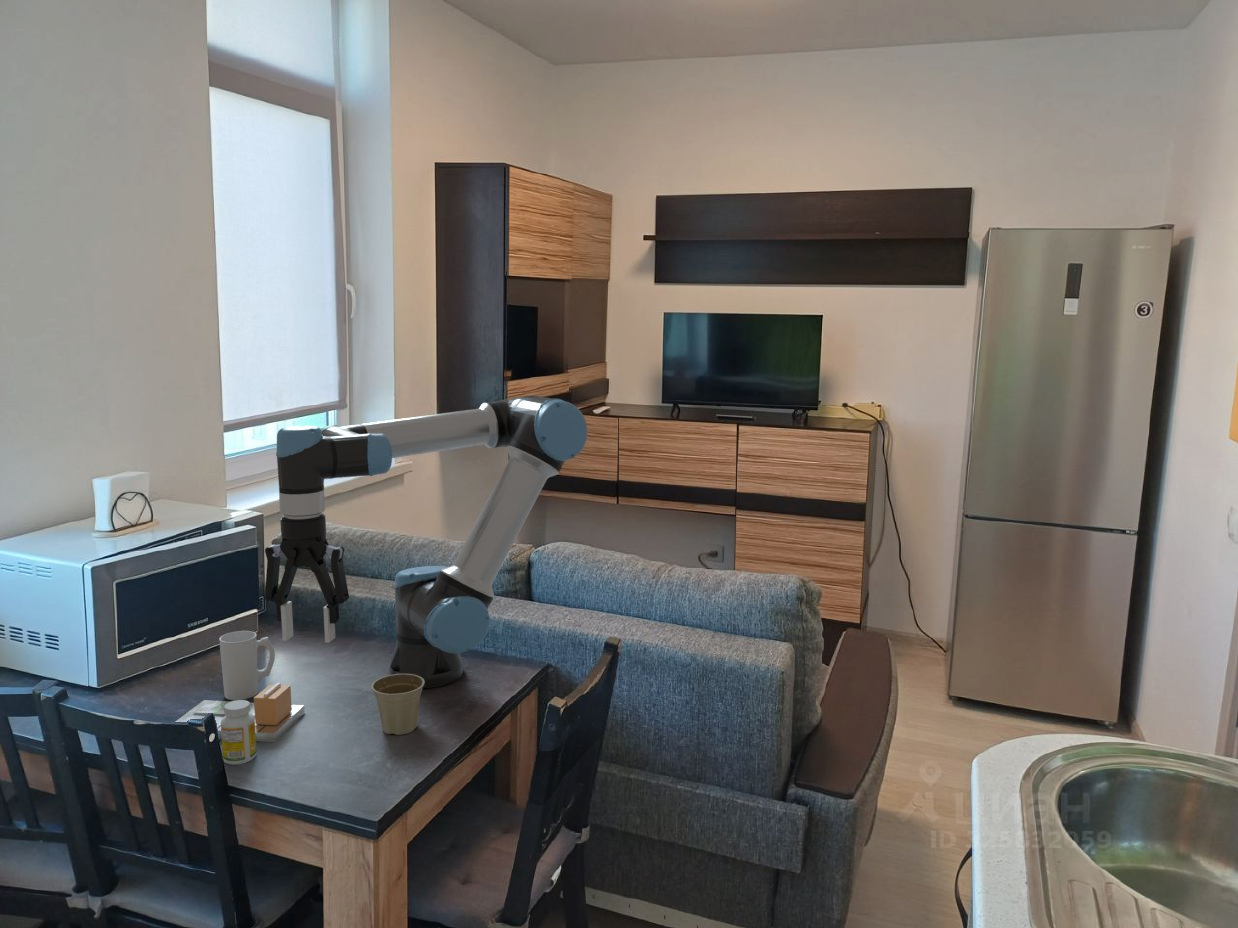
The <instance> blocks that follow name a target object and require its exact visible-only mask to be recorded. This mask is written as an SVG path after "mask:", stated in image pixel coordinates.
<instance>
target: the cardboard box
mask: <svg viewBox="0 0 1238 928" xmlns="http://www.w3.org/2000/svg"><path fill="white" fill-rule="evenodd" d="M291 690H292V689H291V685H288V684H287V685H284V684H281V682H276V683H275V684H269V685H268V686H266V687H265V688H264V689H263V690H261V691H260V692H258V693H257V694H256V695H255V696H253V703H254V710H255V724H265V725H277V724H278V723H279V722H280V721H282V720H283V719H284V718H285V717H286V716H287V715H288V714H289V713H290V712H291V711H292V705H293V704H292V691H291Z"/></svg>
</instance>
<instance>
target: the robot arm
mask: <svg viewBox="0 0 1238 928" xmlns="http://www.w3.org/2000/svg"><path fill="white" fill-rule="evenodd" d="M587 439H588V425H587V423H586V418H585V416H584V414H583V413H582V411H581V410H580V409H579V408H578V407H577V406H576V405H575V404H573V403H571V402H569V401H565V400H563V399H561V398H556V397H555V398H551V397H546V396H545V397H544V396H539V395H531V394H530V395H523V396H522V395H521V396H516V397H512V398H506V399H501V400H497V401H496V400H495V401H491V402H483V403H482V404H480V406H479V407H478V408H474V409H465V410H458V411H451V412H443V413H442V412H441V413H437V414H429V415H420V416H415V417H405V418H398V419H391V420H384V421H383V420H382V421H376V422H368V423H361V424H351V425H345V426H340V425H337V424H334V425H327V426H324V427H322V428H320V427H319V426H316V425H291V426H286V427H282V428H280V429H279V430H278V431H277V433H276V453H275V456H276V463H277V464H276V465H277V477H278V478H277V479H278V496H279V498H278V499H279V501H278V502H279V503H278V504H279V514H281V515H282V516H281V517H280V519H279V520H280V534H281V541H280V544H279V543H278V544H276V543H273V544H271V545H269V546H267V547H265V549H264V553H265V557H266V560H267V561H266V572H265V573H266V574H265V576H266V577H265V589H264V600H265V601H267V602H272V603H274V604H275V607H276V608H275V609H276V610H275V611H276V619H277V622H281V633H282V634H281V636H282V637H281V638H282V641H284V642H287V641H288V640H290V639H291V638H293V637H294V622H293V620H294V619H293V604H292V603H293V602H292V601H290V600H289V598H290V597H289V596H290V595H289V594H290V592H291V589H292V586H293V584H294V580H295V577H296V573H297V571H298V569H299V567H306V568H310V570H311V572H312V573H313V574H314V576H315V579H316V580H317V581H316V582H317V583H318V586H319V588H320V590H321V593H322V595H323V597H324V600H325V602H326V605H325V606H323V626H324V643H327V644H328V643H331V642H332V641H333V640H335V638H336V623H338V622H339V620H340V606H339V605H342V604H344V603H345V602H346V601H348V600H349V599H350V593H349V589H348V582H347V577H346V570H345V567H344V566H345V565H344V553H345V548H344V547H343V546H337V547H336V546H333V545H329V542H328V541H327V523H326V521H327V520H326V515H325V514H324V512H325V510H326V506H325V505H326V502H325V480H328V479H329V480H331V479H337V478H338V479H341V478H354V477H355V478H356V477H366V476H367V477H368V476H369V477H373V476H375V475H376V476H377V475H382V474H386V473H388V472H389V471H390V469H391V467H392V463H393V459H395V458H397V459H398V458H403V457H408V456H409V457H410V456H417V455H423V454H428V453H429V454H430V453H436V452H442V451H450V450H456V449H464V448H469V447H476V446H485V447H486V448H488V449H494V448H495V449H496V448H506V449H507V453H508V456H509V459H508V460H507V463H506V464H505V467H504V468H503V470H502V471H501V474H500V476H499V478H498V479H497V481H496V483H495V485H494V486H493V489H492V491H491V493H490V495H489V496H488V499H487V500H486V502H485V504H484V505H483V508H482V510H481V511H480V513H479V516H478V517H477V519H476V521H475V523H474V525H473V527H472V529H471V530H470V532H469V533H468V536H467V538H466V540H465V541H464V543H463V546H462V547H461V549H460V551H459V553H458V555H457V556H456V558H455V560H454V562H453V564H452V565H450V566H446V565H425V566H417V567H409V568H406V569H402V570H400V571H398V572H397V573H396V575H395V577H394V586H393V589H394V599H395V600H394V602H395V605H394V606H395V626H396V627H395V629H396V630H395V632H396V643H395V645H394V646H395V647H394V649H393V652H392V657H391V659H390V663H389V666H388V667H389V668H388V675H394V674H413V675H417V676H420V677H422V678H423V679H424V681H425V684H424V686H423V687H422V689H429V688H430V689H431V688H438V687H442V686H446V685H449V684H451V683H454V682H455V681H457V680H459V679H460V678H461V677H462V675H463V674H464V673H463V671H464V670H463V668H464V666H463V665H464V664H463V660H462V657H461V653H466V652H468V651H471V650H472V649H474V648H476V647H477V646H478V645H480V643H481V642H482V641H483V640H484V639H485V637H486V636H487V634H488V631H489V629H490V623H491V619H490V612H489V608H490V606H491V604H492V602H493V600H494V597H495V594H494V589H493V583H494V581H495V579H496V578H497V575H498V574H499V572H500V570H501V568H502V566H503V564H504V562H505V560H506V558H507V557H508V555H509V552H510V551H511V550H512V549H511V548H512V546H513V544H514V543H515V541H516V540H517V538H518V535H519V533H520V532H521V530H522V528H523V525H524V524H525V522H526V521H527V519H528V516H529V515H530V513H531V511H532V509H533V507H534V505H535V503H536V501H537V500H538V497H539V496H540V494H541V492H542V489H543V488H544V486H545V484H546V483H547V480H548V479H549V478H551V477H555V476H557V475H559V473H560V472H561V469H562V468H563V466H564V464H565V462H566V461H569V460H572V459H573V458H576V457H577V456H578V455H579V454H580V453H581V452H582V451H583V449H584V447H585V446H586V443H587ZM282 553H283V555H284V556H285V558H286V563H285V566H284V572H283V575H282V577H281V580H280V579H279V578H280V565H281V555H282ZM326 553H327V554H328V558H329V559H330V568H331V574H332V578H331V576H330V573H329V571H328V569H327V563H326V561H325V559H324V557H325V555H326ZM279 580H280V581H279ZM279 582H280V584H279ZM287 600H288V601H287Z"/></svg>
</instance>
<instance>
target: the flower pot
mask: <svg viewBox="0 0 1238 928" xmlns="http://www.w3.org/2000/svg"><path fill="white" fill-rule="evenodd" d="M424 684H425V681H424V679H423V678H422V677H420V676H417V675H413V674H394V675H389V674H388V675H385V676H382V677H380V678H378V679H376V680H374V681H373V682H372V683H371V686H370V687H371V691H372V692H373V694H374V697H375V698H376V701H377V702H376V703H377V707H378V712H379V717H380V723H381V728H382V731H383V732H384V733H385V734H387V735H392V734H394V735H396V736H402V735H406V734H409V733H412V732H413V731H415V729H416V728H417V727H418V721H419V712H420V701H421V694H422V692H423V688H422V687H423V686H424Z"/></svg>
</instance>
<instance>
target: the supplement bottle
mask: <svg viewBox="0 0 1238 928" xmlns="http://www.w3.org/2000/svg"><path fill="white" fill-rule="evenodd" d="M250 703H251V702H250V701H248V700H247V699H244V700H231V701H230V702H229V703H227V704H226V705H225V706H224V713H225V715H226V716H224V717H223V719H222V720H221V737H222V739H221V748H222V749H221V750H222V754H221V755H222V760H223V759H224V761H223V762H224V763H226V764H227V765H231V766H232V765H233V766H235V765H243V764H246V763H249V762H250V761H253V759H255V757H256V756H257V741H256V734H255V717H254V715H253V714H252V713H250V712H249V711H250Z"/></svg>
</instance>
